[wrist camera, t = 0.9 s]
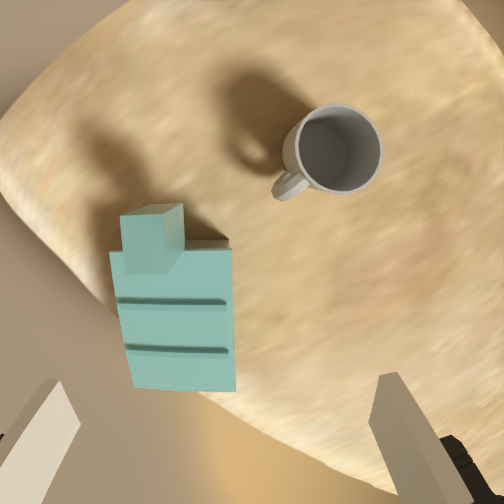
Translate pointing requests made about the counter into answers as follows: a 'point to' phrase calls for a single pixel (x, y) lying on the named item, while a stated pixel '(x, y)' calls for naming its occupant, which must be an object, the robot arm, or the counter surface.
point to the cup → (330, 153)
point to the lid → (173, 304)
